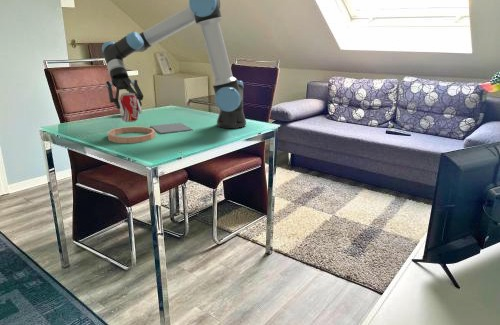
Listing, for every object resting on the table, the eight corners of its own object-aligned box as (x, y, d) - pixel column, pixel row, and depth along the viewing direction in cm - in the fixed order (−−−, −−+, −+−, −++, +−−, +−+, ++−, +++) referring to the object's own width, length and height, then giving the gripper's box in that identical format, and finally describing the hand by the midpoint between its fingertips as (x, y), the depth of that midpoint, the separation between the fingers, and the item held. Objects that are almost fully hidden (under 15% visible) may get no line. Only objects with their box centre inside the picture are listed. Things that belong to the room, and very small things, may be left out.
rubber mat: (180, 123, 198) (180, 122, 198) (192, 130, 185) (192, 129, 185) (150, 127, 190) (150, 125, 190) (160, 134, 177) (160, 132, 177)
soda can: (129, 123, 164) (127, 95, 160) (118, 121, 167) (115, 94, 164) (142, 120, 170) (139, 93, 166) (131, 118, 173) (128, 92, 169)
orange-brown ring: (161, 132, 179) (160, 127, 178) (144, 144, 160) (144, 138, 160) (120, 130, 181) (120, 125, 181) (99, 141, 163) (99, 136, 162)
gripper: (138, 76, 180) (152, 115, 173) (94, 78, 170) (107, 120, 162) (140, 65, 174) (155, 106, 167) (95, 67, 164) (109, 110, 156)
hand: (131, 113), depth 164 cm, fingers closed on soda can, 7 cm apart
